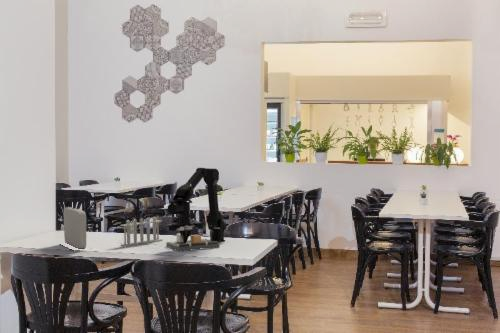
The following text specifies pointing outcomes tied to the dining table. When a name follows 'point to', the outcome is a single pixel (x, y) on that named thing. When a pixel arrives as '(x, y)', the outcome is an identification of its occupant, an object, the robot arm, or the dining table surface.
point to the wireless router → (75, 227)
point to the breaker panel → (176, 246)
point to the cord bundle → (198, 244)
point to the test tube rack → (141, 231)
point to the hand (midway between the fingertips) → (184, 243)
